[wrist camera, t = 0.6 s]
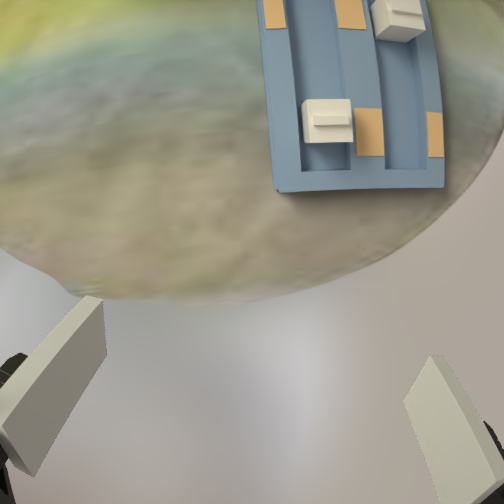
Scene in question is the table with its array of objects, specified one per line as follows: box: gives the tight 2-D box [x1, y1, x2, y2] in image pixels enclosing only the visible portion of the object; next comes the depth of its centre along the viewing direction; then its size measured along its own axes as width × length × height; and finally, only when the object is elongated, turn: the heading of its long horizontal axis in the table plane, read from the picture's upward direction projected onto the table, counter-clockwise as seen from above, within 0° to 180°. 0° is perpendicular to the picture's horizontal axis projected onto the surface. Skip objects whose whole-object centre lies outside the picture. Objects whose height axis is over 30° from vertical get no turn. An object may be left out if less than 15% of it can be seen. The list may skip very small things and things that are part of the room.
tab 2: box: [369, 0, 426, 43], centre depth 24 cm, size 4×4×6 cm
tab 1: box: [301, 99, 353, 143], centre depth 29 cm, size 4×4×6 cm
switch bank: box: [256, 0, 444, 193], centre depth 29 cm, size 26×20×3 cm
